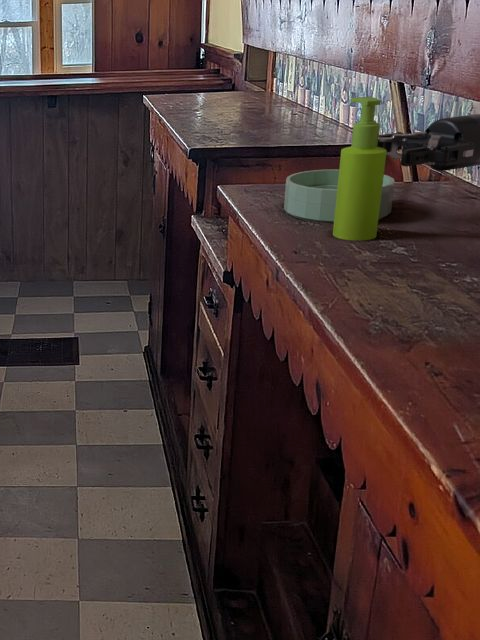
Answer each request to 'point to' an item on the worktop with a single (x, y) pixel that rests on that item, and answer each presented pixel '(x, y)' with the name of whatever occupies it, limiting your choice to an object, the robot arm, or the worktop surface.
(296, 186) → the bowl
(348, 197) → the soap dispenser
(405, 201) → the worktop surface
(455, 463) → the worktop surface
